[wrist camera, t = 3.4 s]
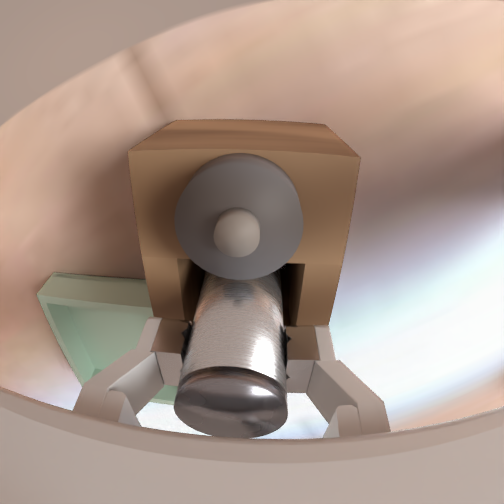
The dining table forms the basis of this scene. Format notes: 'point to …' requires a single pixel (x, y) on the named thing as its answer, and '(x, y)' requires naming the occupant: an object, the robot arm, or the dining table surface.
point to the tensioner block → (243, 211)
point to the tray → (97, 321)
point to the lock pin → (235, 359)
